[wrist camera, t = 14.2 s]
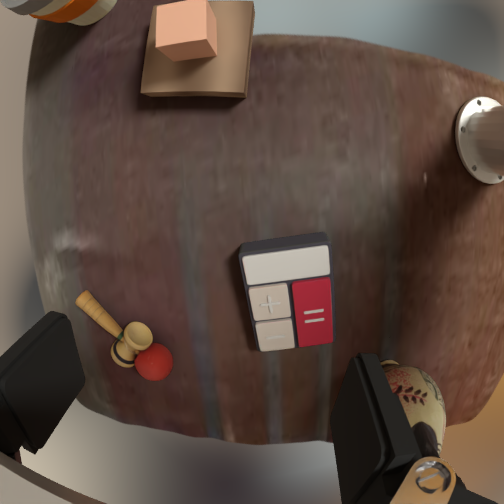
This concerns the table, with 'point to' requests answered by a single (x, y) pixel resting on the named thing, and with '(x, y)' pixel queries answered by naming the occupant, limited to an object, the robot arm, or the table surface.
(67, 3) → the reusable coffee cup
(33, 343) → the robot arm
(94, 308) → the kendama
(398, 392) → the ceramic jug
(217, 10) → the base
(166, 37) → the block
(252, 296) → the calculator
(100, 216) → the table surface
